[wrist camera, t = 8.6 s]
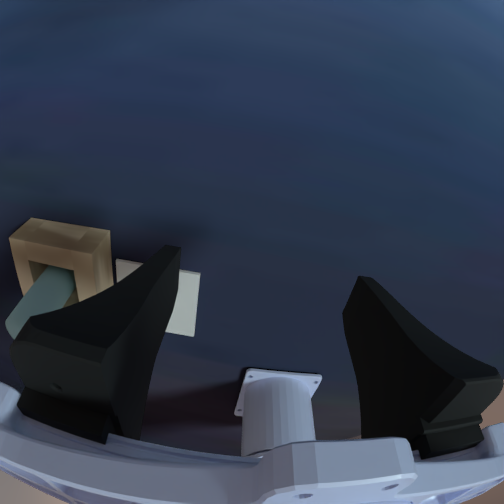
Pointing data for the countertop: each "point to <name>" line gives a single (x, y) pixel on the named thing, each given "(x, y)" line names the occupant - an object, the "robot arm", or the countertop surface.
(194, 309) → the mat
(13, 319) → the peg
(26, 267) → the hole block
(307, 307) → the countertop surface
